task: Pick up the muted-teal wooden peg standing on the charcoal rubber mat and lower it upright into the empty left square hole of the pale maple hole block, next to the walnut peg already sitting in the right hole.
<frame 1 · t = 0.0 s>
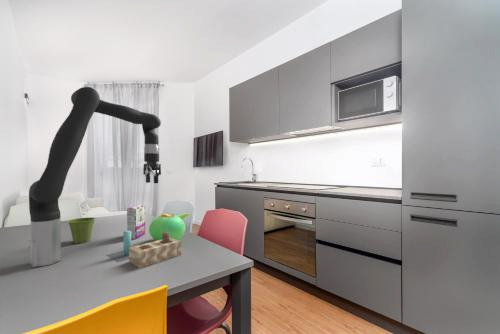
hand: (152, 182, 133), 29 cm above the table, fingers open, 8 cm apart
toy bird: (168, 241, 125), on the table
teal peg: (127, 254, 105), resting on mat
mat: (126, 255, 106), on the table
candy bar box: (136, 236, 134), on the table
walnut peg: (166, 255, 105), resting in hole block
hole block: (156, 258, 102), on the table
plant pot: (82, 241, 126), on the table
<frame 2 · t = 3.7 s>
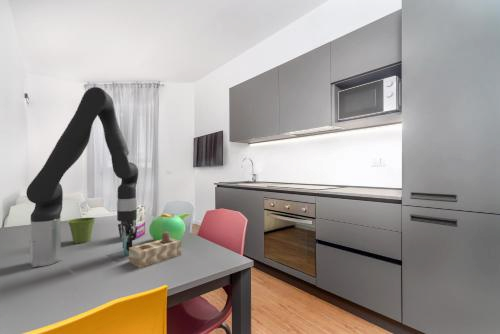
hand: (127, 248, 105), 3 cm above the table, fingers closed on teal peg, 3 cm apart
teal peg: (127, 254, 105), resting on mat, touching gripper
everything else where it was.
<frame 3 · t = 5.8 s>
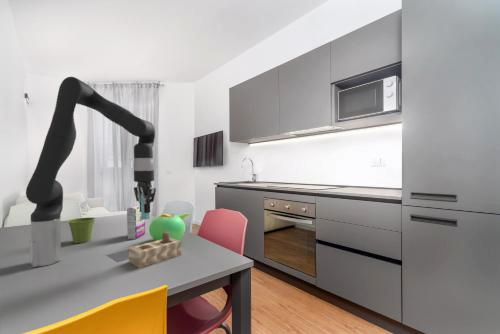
hand: (145, 212, 99), 20 cm above the table, fingers closed on teal peg, 3 cm apart
teal peg: (145, 218, 99), point 17 cm above the table, touching gripper
everything else where it was.
when the fingers open (7 cm above the table, at t = 8.1 s): teal peg drops 4 cm, resting in hole block.
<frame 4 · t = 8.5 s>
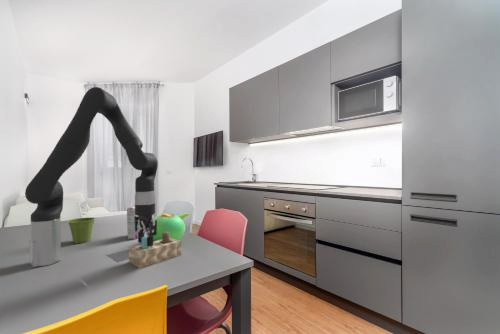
hand: (145, 244, 98), 7 cm above the table, fingers open, 6 cm apart
teal peg: (146, 262, 98), resting in hole block
everything else where it was.
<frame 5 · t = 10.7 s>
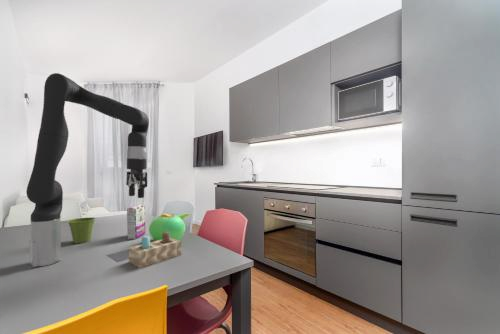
hand: (136, 196, 102), 26 cm above the table, fingers open, 8 cm apart
nothing on the table moved.
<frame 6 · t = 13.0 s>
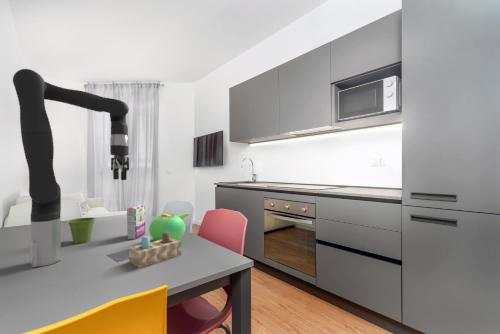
hand: (119, 179, 115), 32 cm above the table, fingers open, 8 cm apart
nothing on the table moved.
at the end: teal peg 0.2 cm from the target spot on the hole block, point 0.0 cm above the hole block's base; teal peg tilted 0°; the gripper is holding nothing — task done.
